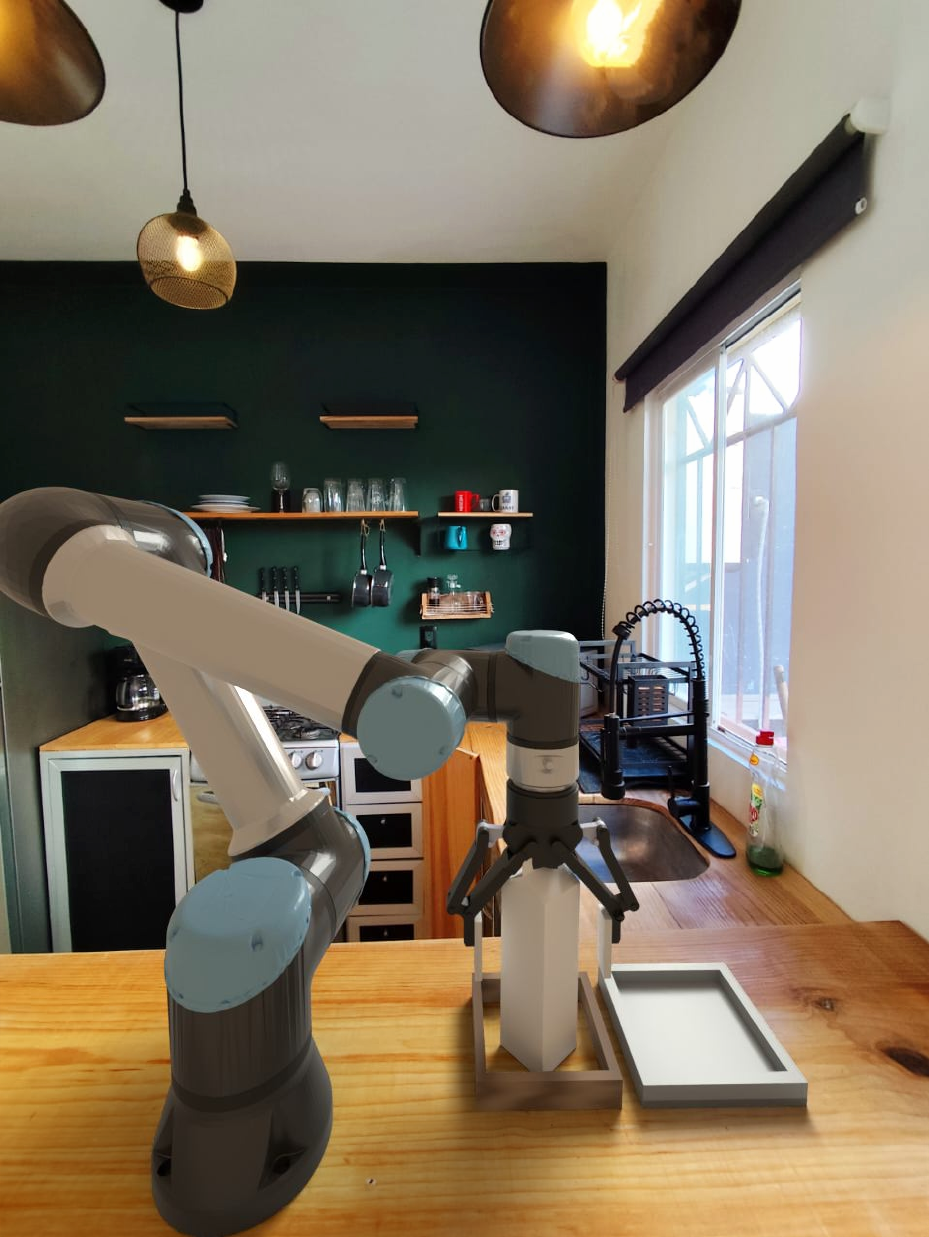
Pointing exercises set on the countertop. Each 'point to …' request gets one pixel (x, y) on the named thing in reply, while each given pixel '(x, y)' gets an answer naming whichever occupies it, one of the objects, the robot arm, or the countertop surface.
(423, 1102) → the countertop surface
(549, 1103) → the frame
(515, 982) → the milk
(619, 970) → the tray
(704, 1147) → the countertop surface
